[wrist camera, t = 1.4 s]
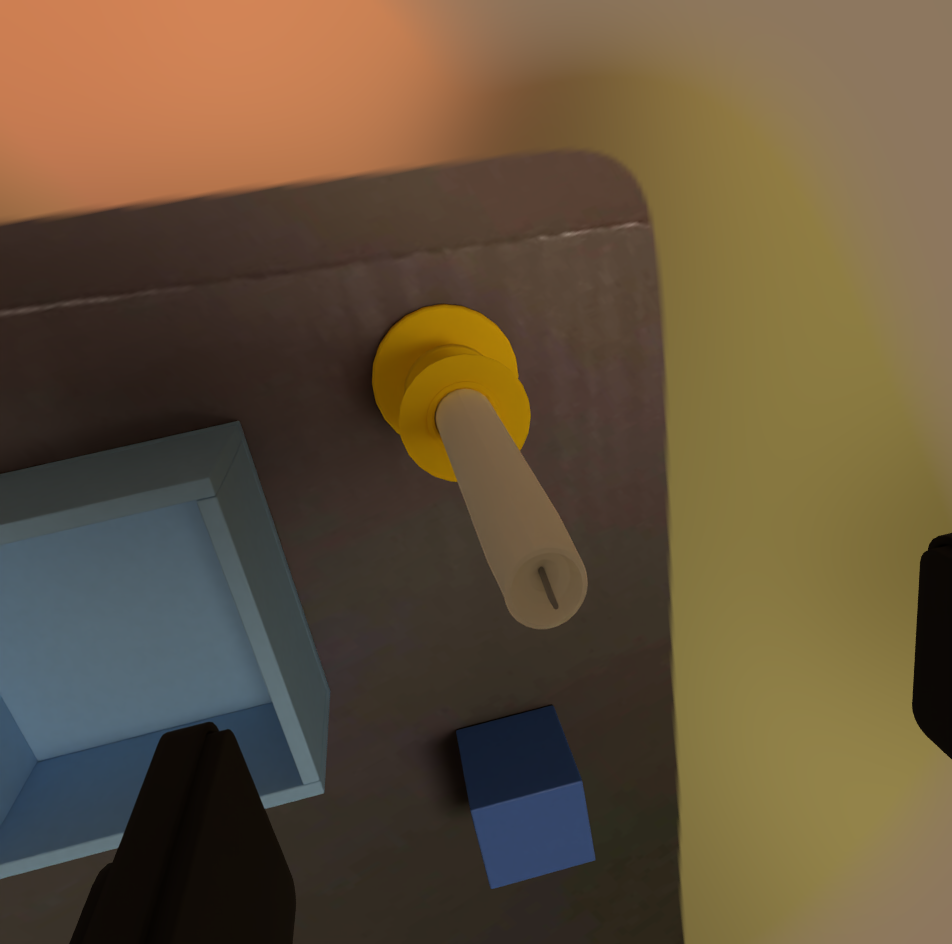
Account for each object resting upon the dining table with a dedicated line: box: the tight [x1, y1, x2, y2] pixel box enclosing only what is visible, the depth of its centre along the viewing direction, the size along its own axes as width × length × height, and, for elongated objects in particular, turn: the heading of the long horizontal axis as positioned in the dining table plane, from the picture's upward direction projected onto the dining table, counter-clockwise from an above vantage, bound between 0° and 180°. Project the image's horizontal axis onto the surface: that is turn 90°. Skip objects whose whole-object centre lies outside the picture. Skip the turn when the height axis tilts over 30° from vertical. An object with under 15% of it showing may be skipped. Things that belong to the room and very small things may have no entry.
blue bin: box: [0, 421, 330, 879], centre depth 24 cm, size 12×12×6 cm
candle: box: [372, 304, 588, 629], centre depth 18 cm, size 5×5×16 cm
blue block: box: [456, 705, 595, 889], centre depth 30 cm, size 4×4×4 cm
